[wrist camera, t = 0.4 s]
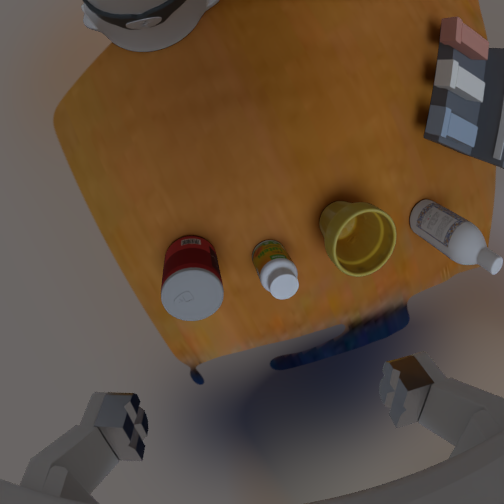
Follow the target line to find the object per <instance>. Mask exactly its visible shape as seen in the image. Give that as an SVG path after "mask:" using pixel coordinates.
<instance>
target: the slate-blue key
mask: <svg viewBox="0 0 504 504" xmlns="http://www.w3.org/2000/svg"><path fill="white" fill-rule="evenodd" d="M477 130H478V127H477V126H475V125H474V124H472V123H470V122H468V121H466V120H464V119H463V118H461V117H459V116H457V115H455V114H453V113H451V109H449V108H447V107H443V106H436V105H430V110H429V115H428V120H427V125H426V130H425V132H427V133H429V134H433V135H436V136H440V137H444V138H448V139H451V140H453V141H455V142H457V143H460V144H464V145H467V146H470V147H474V145H475V140H476V135H477Z"/></svg>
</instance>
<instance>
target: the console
mask: <svg viewBox="0 0 504 504" xmlns="http://www.w3.org/2000/svg"><path fill="white" fill-rule="evenodd" d="M440 34H441V31H440ZM450 59H454V60H455V61H457V62H458V63H459V64H458V65H459V66H460V67H462V68H464V69H465V70H467V71H468V72H470V73H471V74H473V75H474V76H476V77H477V78H479V79H480V80H482V81H483V82H484V83H485V88H484V96H483V102H476V101H470V100H465V99H464V98H462V97H460V96H458V95H457V94H455V93H453V92H451V91H449V90H447V89H446V88H438V87H436V86H433V92H432V98H431V103H430V105H436V106H443V107H447V108H449V109H451V113H453V114H455V115H457V116H459V117H461V118H463V119H464V120H466V121H468V122H470V123H472V124H474V125H475V126H477V127H478V130H477V135H476V140H475V145H474V147H470V146H467V145H464V144H460V143H457V142H455V141H453V140H451V139H448V138H444V137H440V136H436V135H433V134H429V133H427V132H425V134H424V138H425V139H428V140H431V141H433V142H436V143H438V144H441V145H443V146H445V147H448V148H450V149H453V150H455V151H457V152H460V153H462V154H465V155H468V156H471V157H474V158H476V159H479V160H482V161H485V162H488V163H490V164H493V165H496V166H499V167H501V168H503V169H504V48H503V49H501V48H489V49H488V60H471V59H470V58H468V57H467V56H465V55H464V54H462V53H461V52H459V51H458V50H456V49H455V48H453V47H451V46H450V45H444V44H443V43H441V42H440V41H439V50H438V58H437V60H450ZM436 68H437V66H436ZM435 75H436V73H435ZM434 81H435V80H434ZM429 110H430V109H429ZM428 115H429V114H428ZM427 120H428V119H427ZM426 125H427V124H426ZM425 130H426V129H425Z"/></svg>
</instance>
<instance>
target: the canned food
mask: <svg viewBox="0 0 504 504" xmlns="http://www.w3.org/2000/svg"><path fill="white" fill-rule="evenodd" d="M161 300H162V303H163V306H164V308H165V309H166V310H167V311H168V313H170V314H171V315H172V316H174V317H176V318H178V319H181V320H186V321H196V320H201V319H204V318H207V317H208V316H210V315H212V314H213V313H214V312H216V310H217V309H218V308H219V307H220V305H221V303H222V300H223V285H222V279H221V275H220V270H219V265H218V260H217V255H216V252H215V249H214V248H213V246H212V245H211V244H210V243H209V242H208V241H207V240H205V239H203V238H201V237H198V236H185V237H182V238H180V239H178V240H176V241H175V242H174V243H173V244H172V245H171V246H170V247H169V248H168V250H167V252H166V255H165V261H164V269H163V277H162V286H161Z"/></svg>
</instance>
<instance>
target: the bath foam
mask: <svg viewBox="0 0 504 504" xmlns="http://www.w3.org/2000/svg"><path fill="white" fill-rule="evenodd" d="M410 226H411V228H412V230H413V231H414V232H415V233H416V234H417V235H419V236H420V237H421V238H423V239H424V240H426V241H427V242H428V243H430V244H431V245H433V246H434V247H435V248H437V249H438V250H439V251H441V252H442V253H443V254H445V255H446V256H447V257H449V258H450V259H451V260H453V261H455V262H457V263H459V264H463V265H473V264H479V265H480V266H482V267H483V268H484V269H486V270H487V271H489V272H490V273H491V274H493V275H494V274H496V273H498V272H499V270H500V269H501V266H502V263H503V259H502V258H501V257H500V256H499V255H498V254H496V253H495V252H493V251H492V250H490V249H489V248H487V246H486V243H485V240H484V237H483V235H482V233H481V232H480V230H479V229H478V228H477V227H476V226H475V225H474V224H473V223H471V222H469V221H468V220H466V219H464V218H463V217H461V216H459V215H457V214H456V213H454V212H452V211H450V210H448V209H447V208H445V207H443V206H441V205H439V204H437V203H435V202H433V201H431V200H427V199H426V200H422V201H420V202H419V203H418V204H416V206H415V207H414V208H413V210H412V212H411V215H410Z"/></svg>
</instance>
